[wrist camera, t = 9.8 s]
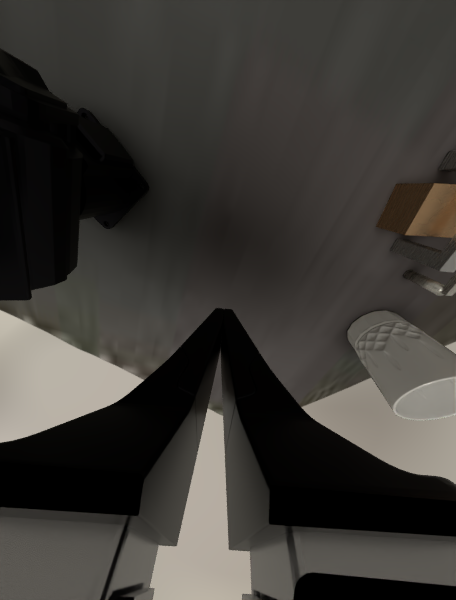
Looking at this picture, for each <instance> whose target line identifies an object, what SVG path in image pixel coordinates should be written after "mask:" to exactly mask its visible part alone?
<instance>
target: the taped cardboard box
mask: <svg viewBox="0 0 456 600" xmlns="http://www.w3.org/2000/svg"><path fill="white" fill-rule="evenodd" d="M376 227H379V228H382V229H386V230H389V231H393V232H396V233H399V234H403V235H413V236H432V237H450V238H453V236H454V235H455V234H456V184H438V183H421V184H396V186H395V188H394V190H393V192H392V194H391V196H390V198H389V200H388V203H387V205H386V207H385V209H384V211H383V213H382V215H381V217H380V219H379V221H378V224H377V226H376Z"/></svg>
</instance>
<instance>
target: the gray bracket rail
mask: <svg viewBox="0 0 456 600" xmlns="http://www.w3.org/2000/svg"><path fill="white" fill-rule="evenodd" d="M438 170H445V171H456V151H450V152H448V154H447V156H446V157H445V159H444V161H443V162H442V164H441V166H440V168H439V169H438ZM390 251H392V252H395V253H397V254H400V255H402V256H404V257H407V258H409V259H412V260H414V261H416V262H419V263H421V264H424V265H426V266H428V267H431V268H433V269H436V270H438V271H444V272H454V271H455V270H456V234H455V235H454V236H453V238H452V239H451V240H450V242H449V243H448V244H447V246H446V247H445V248H444V250H443V251H441V250H438V249H435V248H432V247H428V246H425V245H422V244H419V243H416V242H412V241H409V240H401V239H397V240H396V242H395V243H394V245H393V247H392V248H391V250H390ZM404 277H405V278H406V279H408V280H410V281H412V282H414V283H416V284H418V285H419V286H421V287H423V288H425V289H427V290H429V291H430V292H432V293H434V294H436V295H438V296H442V295H447V296H452V295H453V294H454V293H455V292H456V273H455V275H454V276H453V277H452V278H451V279H450V280H449V281H448V283H447V284H446V285H443V284H441V283H438V282H436V281H434V280H432V279H430V278H428V277H426V276H424V275H422V274H419V273H417V272H415V271H413V270H408V271H407V272H405V273H404Z"/></svg>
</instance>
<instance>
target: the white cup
mask: <svg viewBox="0 0 456 600" xmlns="http://www.w3.org/2000/svg"><path fill="white" fill-rule="evenodd" d="M347 338H348V340H349V342H350V343H351V345H352V346H353V348H354V349H355V351H356V352H357V354H358V356H359V358H360V360H361V362H362V363H363V365H364V366H365V368H366V370H367V371H368V373H369V375H370V376H371V378H372V379H373V380H374V382H375V384H376V385H377V387H378V388H379V390H380V391H381V393H382V394H383V396H384V397H385V399H386V401H387V402H388V404H389V405H390V407H391V408H392V410H393V412H394V413H395V414H396V415H397V416H399V417H401V418H405V419H409V420H433V419H440V418H445V417H449V416H454V415H456V354H455V353H453V352H452V351H451V350H449V349H448V348H446V347H445V346H444V345H442V344H441V343H439V342H438V341H436V340H435V339H433V338H432V337H430V336H429V335H427V334H426V333H424V332H423V331H422V330H420V329H419V328H417V327H415V326H413V325H412V324H410V323H409V322H407V321H406V320H405V319H403V318H402V317H400V316H399V315H398V314H396V313H393V312H390V311H387V310H384V311H374V312H371V313H368V314H366V315H363V316H361V317H360V318H358V319H357V320H356V321H355V322H353V323H352V324H351V326H350V328H349V329H348V331H347Z"/></svg>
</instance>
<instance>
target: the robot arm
mask: <svg viewBox="0 0 456 600" xmlns="http://www.w3.org/2000/svg"><path fill="white" fill-rule="evenodd" d="M86 114H87V116H88V119H86V118H85V115H86ZM141 183H142V184H143V185H144V189H142V188H141V186H140V185H141ZM148 190H149V186H148V184H147V182H146V181H145V180H144V178H143V177H142V176H141V175H140V173H139V172H138V171H137V170H136V168H135V167H134V166H133V160H132V158H131V157H130V156H129V155H128V153H127V152H126V151H125V149H124V148H123V147H122V146H121V144H120V143H119V142H118V141H117V139H116V138H115V137H114V135H113V134H112V133H111V132H110V130H109V129H108V128H106V127H103V126H102V125H101V124H100V123H99V122H98V120H97V119H96V118H95V117H94V115H93V114H92V113H91V112H90V111H88V110H86V109H84V108H80V109H79V110H78V112H77V113H76V112H75V111H73V110H71V109H70V108H68V107H67V103H66V102H64V101H62V100H61V99H59V98H58V97H56V96H55V95H53V94H52V93H51V92H50V91H49V90H48V88H47V86H46V85H45V83H44V81H43V79H42V78H41V76H40V74H39V73H38V71H37V70H36V69H34V68H32V67H31V66H29V65H28V64H26V63H24V62H23V61H21V60H19V59H18V58H16V57H14V56H13V55H11V54H9V53H7V52H6V51H4V50H2V49H1V48H0V300H30V299H31V298H32V294H31V290H35V289H39V288H44V287H48V286H52V285H56V284H58V283H60V282H63V281H65V280H66V279H67V275H68V274H70V273H71V272H72V271H73V270H74V269H75V268H76V267H77V260H78V241H79V222H80V220H82V219H86V218H91V217H94V218H95V219H96V220H97V221H98V222H99V223H100V224H101V225H102V226H103V227H104V228H106V229H110V228H113V227H114V226H115V225H116V224H117V223H118V222H119V220H120V219H121V218H122V217H123V216H124V215H125V214H126V213H127V212H128V211H129V210H130V209H131V208H132V207H133V206H134V205H135V204H136V203H137V202H138V201H139V200H140V199H141V198H142V197H143V196H144V195H145V194H146V193H147V191H148ZM106 221H107V222H108V223H109V226H108V225H107V224H106ZM223 315H224V316H223ZM221 338H222V339H221ZM220 348H221V374H222V397H223V420H224V444H225V467H226V491H227V515H228V538H229V550H238V551H250V560H251V561H250V562H251V588H252V594H243V595H242V600H456V484H454V483H453V482H451V481H450V480H448V479H446V478H442V477H438V476H428V475H417V474H413V473H409V472H406V471H403V470H400V469H398V468H396V467H394V466H392V465H389V464H388V463H386V462H384V461H382V460H380V459H378V458H377V457H375V456H373V455H372V454H370V453H368V452H367V451H365V450H363V449H362V448H360V447H358V446H357V445H355V444H353V443H351V442H350V441H348V440H347V439H345V438H343V437H341V436H340V435H338V434H337V433H335V432H333V431H331V430H330V429H328V428H326V427H325V426H323V425H321V424H320V423H318V422H317V421H315V420H314V419H313V418H311V417H310V416H309V415H308V414H307V413H306V412H305V411H304V410H303V409H302V408H301V407H300V405H299V404H298V403H297V402H296V400H295V399H294V398H293V397H292V396H291V394H290V393H289V392H288V391H287V389H286V388H285V387H284V386H283V384H282V383H281V382H280V381H279V380H278V378H277V377H276V376H275V374H274V373H273V372H272V370H271V369H270V368H269V366H268V365H267V363H266V362H265V360H264V359H263V357H262V356H261V354H260V353H259V351H258V349H257V348H256V346H255V345H254V343H253V342H252V340H251V338H250V337H249V335H248V334H247V332H246V331H245V329H244V327H243V326H242V324H241V323H240V321H239V320H238V318H237V316H236V315H235V313H234V312H233V310H232V309H222V308H216V309H215V310H214V311H213V312H212V313H211V314H210V315H209V316H208V317H207V318H206V320H205V321H204V322H203V323H202V324H201V325H200V326H199V327H198V328H197V329H196V330H195V331H194V332H193V334H192V335H191V336H190V337H189V338H188V339H187V340H186V341H185V342H184V343H183V344H182V345H181V347H179V348H178V350H177V351H176V352H175V353H174V354H173V355H172V356H171V357H170V358H169V359H168V360H167V361H166V362H165V363H164V364H162V365H161V366H160V367H159V368H158V369H157V370H156V371H155V372H153V373H152V374H151V375H150V376H149V377H148V378H146V379H145V380H144V381H143V382H142V383H141V384H139V385H138V386H137V387H136V388H135V389H134V390H132V391H131V392H130V393H129V394H128V395H126V396H125V397H123V398H122V399H121V400H119V401H117V402H116V403H114V404H112V405H110V406H107V407H105V408H102V409H100V410H97V411H94V412H92V413H89V414H87V415H84V416H81V417H79V418H76V419H74V420H71V421H68V422H66V423H63V424H60V425H58V426H55V427H53V428H50V429H47V430H45V431H42V432H40V433H37V434H34V435H31V436H28V437H25V438H21V439H17V440H14V441H9V442H2V443H0V600H152V599H153V594H154V588H149V587H150V583H151V578H152V573H153V568H154V564H155V559H156V555H157V550H158V545H163V546H177V542H178V537H179V533H180V528H181V524H182V519H183V515H184V510H185V506H186V501H187V497H188V493H189V488H190V484H191V479H192V475H193V470H194V466H195V461H196V457H197V452H198V448H199V443H200V439H201V435H202V430H203V426H204V421H205V417H206V412H207V408H208V403H209V399H210V395H211V390H212V386H213V381H214V377H215V372H216V368H217V363H218V359H219V354H220Z"/></svg>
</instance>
